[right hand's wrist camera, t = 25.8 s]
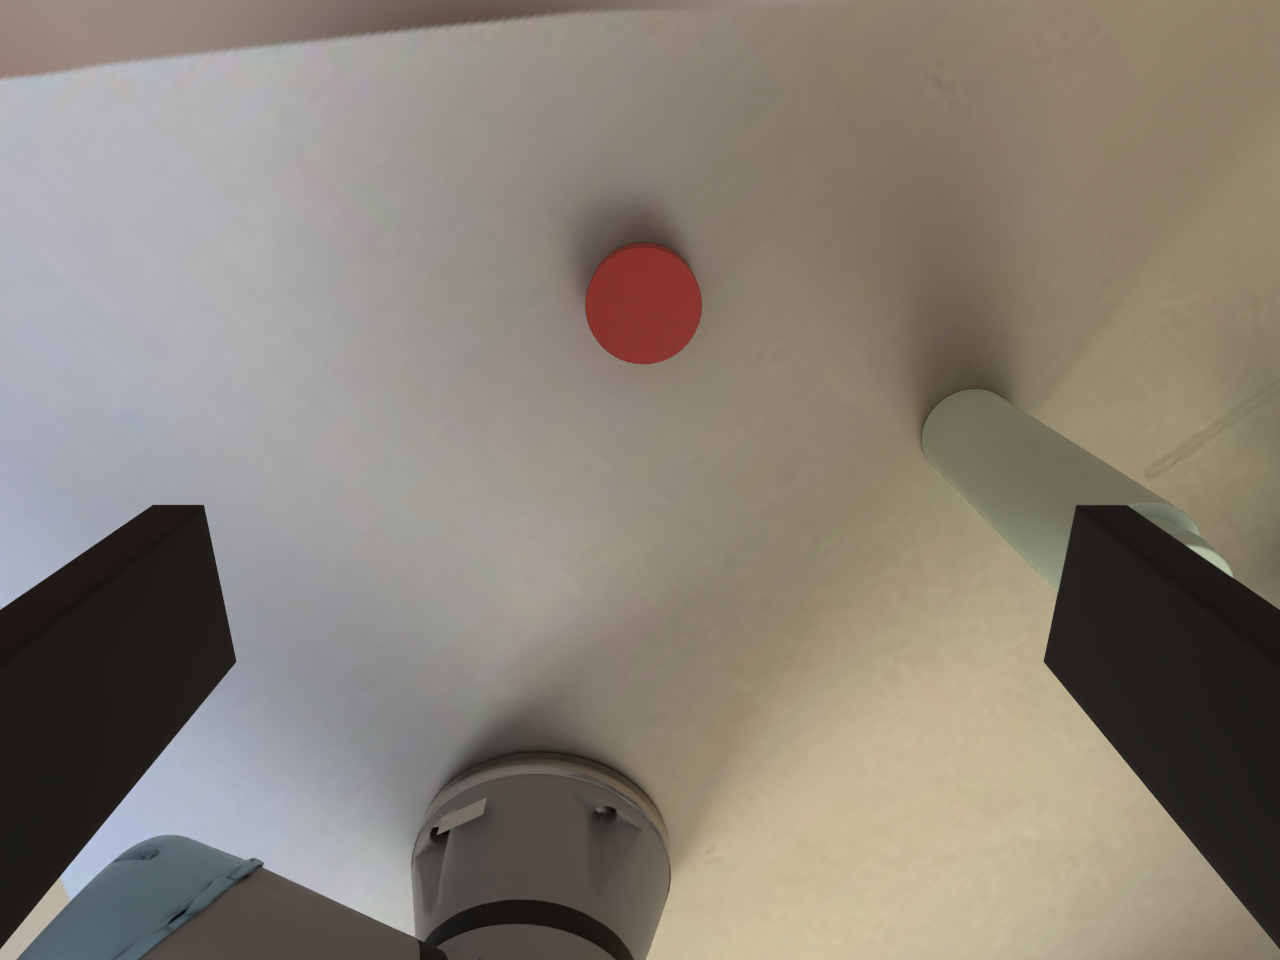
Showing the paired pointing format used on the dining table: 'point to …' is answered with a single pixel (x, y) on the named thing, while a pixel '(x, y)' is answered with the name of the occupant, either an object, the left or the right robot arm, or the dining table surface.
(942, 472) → the bottle
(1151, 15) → the dining table surface
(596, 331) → the lid
